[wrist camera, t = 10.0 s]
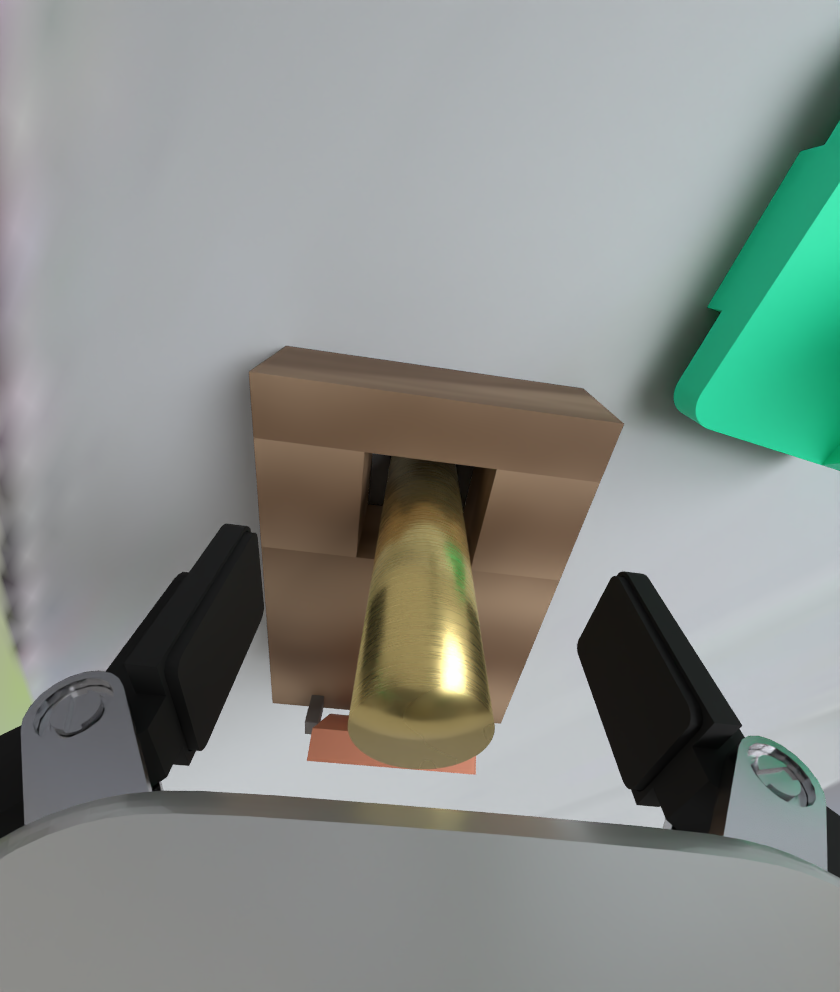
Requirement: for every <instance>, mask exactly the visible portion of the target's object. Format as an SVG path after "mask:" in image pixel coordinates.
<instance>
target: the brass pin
mask: <svg viewBox="0 0 840 992" xmlns="http://www.w3.org/2000/svg"><path fill="white" fill-rule="evenodd" d="M494 730H495V725H494V718H493V712H492V705H491V698H490V691H489V685H488V678H487V671H486V664H485V658H484V651H483V644H482V637H481V631H480V624H479V617H478V610H477V604H476V597H475V590H474V583H473V577H472V570H471V563H470V556H469V550H468V543H467V536H466V529H465V523H464V516H463V509H462V502H461V495H460V489H459V482H458V475H457V468H456V464H452V463H444V462H437V461H429V460H421V459H413V458H406V457H398V456H392V457H391V460H390V466H389V472H388V478H387V484H386V490H385V497H384V503H383V509H382V515H381V521H380V528H379V534H378V540H377V546H376V552H375V558H374V565H373V571H372V577H371V583H370V589H369V596H368V602H367V608H366V614H365V620H364V627H363V633H362V639H361V645H360V651H359V657H358V664H357V670H356V676H355V682H354V688H353V695H352V701H351V707H350V713H349V719H348V733H349V736H350V738H351V740H352V742H353V743H354V744H355V746H356V747H357V748H358V749H359V750H360V751H362V752H363V753H364V754H366V755H367V756H369V757H371V758H373V759H375V760H377V761H379V762H382V763H385V764H388V765H392V766H396V767H401V768H408V769H437V768H443V767H448V766H453V765H456V764H459V763H462V762H465V761H467V760H469V759H471V758H473V757H475V756H476V755H478V754H479V753H481V752H482V751H483V750H484V749H485V748H486V747H487V746H488V745H489V743H490V742H491V740H492V738H493V735H494Z"/></svg>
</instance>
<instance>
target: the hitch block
mask: <svg viewBox="0 0 840 992" xmlns="http://www.w3.org/2000/svg"><path fill="white" fill-rule="evenodd" d="M249 381H250V395H251V409H252V423H253V437H254V451H255V464H256V478H257V492H258V506H259V520H260V534H261V548H262V561H263V575H264V589H265V603H266V617H267V631H268V645H269V658H270V672H271V686H272V700H273V703H279V704H290V705H301V706H309V708H308V712H307V716H306V720H305V734H312V728H313V727H314V726H316V725H317V724H318V723H319V722H320V721H321V716H322V712H323V708H334V709H345V710H350V707H351V701H352V695H353V688H354V682H355V676H356V670H357V664H358V657H359V651H360V645H361V639H362V633H363V627H364V620H365V614H366V608H367V602H368V596H369V589H370V583H371V577H372V571H373V565H374V558H375V552H376V546H377V540H378V534H379V528H380V521H381V515H382V509H383V506H379V505H371V504H368V500H369V488H370V477H371V465H372V454H373V453H375V454H382V455H390V456H398V457H406V458H413V459H421V460H429V461H437V462H444V463H452V464H460V465H467V466H474V468H473V472H472V477H471V481H470V485H469V490H468V494H467V499H466V503H465V507H464V512H463V516H464V523H465V529H466V536H467V543H468V550H469V556H470V563H471V570H472V577H473V583H474V590H475V597H476V604H477V610H478V617H479V624H480V631H481V637H482V644H483V651H484V658H485V664H486V671H487V678H488V685H489V691H490V698H491V705H492V712H493V718H494V723H501V721H502V719H503V717H504V714H505V712H506V709H507V707H508V704H509V702H510V700H511V697H512V695H513V692H514V690H515V687H516V685H517V683H518V680H519V678H520V675H521V673H522V670H523V668H524V666H525V663H526V661H527V658H528V656H529V653H530V651H531V649H532V646H533V644H534V641H535V639H536V636H537V634H538V632H539V629H540V627H541V624H542V622H543V619H544V617H545V615H546V612H547V610H548V607H549V605H550V602H551V600H552V598H553V595H554V593H555V590H556V588H557V585H558V583H559V581H560V578H561V576H562V573H563V571H564V569H565V566H566V564H567V561H568V559H569V556H570V554H571V552H572V549H573V547H574V544H575V542H576V539H577V537H578V535H579V532H580V530H581V527H582V525H583V522H584V520H585V518H586V515H587V513H588V510H589V508H590V505H591V503H592V501H593V498H594V496H595V493H596V491H597V488H598V486H599V484H600V481H601V479H602V476H603V474H604V471H605V469H606V467H607V464H608V462H609V459H610V457H611V454H612V452H613V450H614V447H615V445H616V442H617V440H618V437H619V435H620V433H621V430H622V428H623V425H624V423H622V422H621V421H620V420H619V419H618V418H617V417H616V416H614V415H613V414H612V413H611V412H610V411H609V410H607V409H606V408H605V407H604V406H603V405H602V404H601V403H599V402H598V401H597V400H596V399H595V398H594V397H592V396H591V395H590V394H589V393H588V392H587V391H586V390H584V389H583V388H576V387H569V386H562V385H555V384H548V383H541V382H534V381H527V380H520V379H513V378H506V377H499V376H492V375H485V374H478V373H471V372H464V371H457V370H450V369H443V368H436V367H429V366H422V365H415V364H409V363H402V362H395V361H388V360H381V359H374V358H367V357H360V356H353V355H346V354H339V353H332V352H325V351H318V350H311V349H304V348H297V347H290V346H285V347H284V348H283V349H281V350H280V351H278V352H277V353H275V354H274V355H272V356H271V357H269V358H268V359H267V360H265V361H264V362H262V363H261V364H259V365H258V366H256V367H255V368H253V369H252V370H251V371H249Z"/></svg>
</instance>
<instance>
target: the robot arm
mask: <svg viewBox="0 0 840 992" xmlns="http://www.w3.org/2000/svg"><path fill="white" fill-rule="evenodd" d="M263 611H264V602H263V591H262V580H261V569H260V559H259V548H258V537H257V534H256V533H251V530H250V528H249V527H248V526H241V525H233V524H224V525H223V526H222V527H221V528H220V530H219V531H218V533H217V534H216V535H215V537H214V538H213V540H212V541H211V542H210V544H209V545H208V547H207V548H206V549H205V551H204V552H203V554H202V555H201V556H200V558H199V559H198V561H197V562H196V563H195V565H194V566H193V568H192V569H191V570H190V572H189V573H188V572H182V573H180V574H178V576H177V577H176V578H175V579H174V580H173V581H172V583H171V584H170V585H169V587H168V588H167V589H166V591H165V592H164V593H163V595H162V596H161V597H160V599H159V600H158V602H157V603H156V604H155V606H154V607H153V608H152V610H151V611H150V612H149V614H148V615H147V616H146V618H145V619H144V620H143V622H142V623H141V624H140V626H139V627H138V628H137V630H136V631H135V633H134V634H133V635H132V637H131V638H130V639H129V641H128V642H127V643H126V645H125V646H124V647H123V649H122V650H121V651H120V653H119V654H118V655H117V657H116V658H115V659H114V661H113V662H112V664H111V665H110V666H109V668H108V669H107V670H106V672H104V671H90V672H84V673H80V674H77V675H74V676H70V677H68V678H66V679H64V680H62V681H60V682H58V683H56V684H55V685H53V686H52V687H51V688H49V689H48V690H46V691H45V692H44V693H42V694H41V695H40V696H39V697H38V698H37V699H36V700H35V702H34V703H33V704H32V705H31V706H30V707H29V709H28V711H27V712H26V714H25V716H24V718H23V721H22V725H21V726H19V727H17V728H15V729H13V730H11V731H9V732H7V733H5V734H3V735H1V736H0V992H840V816H839V815H838V814H836V813H835V812H834V811H832V810H831V809H829V808H828V807H827V806H826V800H825V796H824V792H823V790H822V788H821V786H820V784H819V782H818V780H817V779H816V777H815V776H814V775H813V774H812V772H811V771H810V770H809V768H808V767H807V766H806V765H805V764H804V763H803V762H802V761H801V760H800V759H799V758H798V757H797V756H796V755H794V754H793V753H791V752H790V751H789V750H787V749H786V748H785V747H783V746H782V745H780V744H778V743H776V742H774V741H772V740H770V739H767V738H764V737H760V736H748V737H746V738H745V737H744V736H743V734H742V732H741V731H740V729H739V728H740V727H742V724H741V723H740V721H739V720H738V718H737V717H736V715H735V713H734V712H733V710H732V709H731V707H730V706H729V704H728V702H727V701H726V699H725V698H724V696H723V695H722V693H721V691H720V690H719V688H718V687H717V685H716V684H715V682H714V680H713V679H712V677H711V676H710V674H709V673H708V671H707V669H706V668H705V666H704V665H703V663H702V662H701V660H700V658H699V657H698V655H697V654H696V652H695V651H694V649H693V647H692V646H691V644H690V643H689V641H688V640H687V638H686V636H685V635H684V633H683V632H682V630H681V629H680V627H679V625H678V624H677V622H676V621H675V619H674V618H673V616H672V614H671V613H670V611H669V610H668V608H667V607H666V605H665V603H664V602H663V600H662V599H661V597H660V596H659V594H658V592H657V591H656V589H655V588H654V586H653V585H652V583H651V581H650V580H649V578H648V577H647V576H646V575H644V574H640V573H631V572H620V573H618V575H617V576H613V577H612V578H611V579H610V581H609V583H608V585H607V587H606V589H605V591H604V593H603V594H602V596H601V598H600V600H599V602H598V604H597V606H596V608H595V610H594V612H593V613H592V615H591V617H590V619H589V621H588V623H587V625H586V627H585V629H584V631H583V633H582V634H581V636H580V638H579V640H578V644H577V651H578V655H579V658H580V661H581V664H582V667H583V670H584V672H585V675H586V678H587V681H588V684H589V687H590V689H591V692H592V695H593V698H594V701H595V704H596V706H597V709H598V712H599V715H600V718H601V721H602V723H603V726H604V729H605V732H606V735H607V738H608V740H609V743H610V746H611V749H612V752H613V755H614V757H615V760H616V763H617V766H618V769H619V772H620V774H621V777H622V780H623V782H624V784H625V786H626V787H627V788H628V789H631V790H632V793H633V796H634V799H635V801H636V804H637V805H643V806H655V807H660V806H661V808H662V810H663V813H664V815H665V822H664V825H663V829H661V828H652V827H643V826H632V825H621V824H610V823H599V822H588V821H577V820H565V819H554V818H543V817H532V816H520V815H509V814H497V813H485V812H473V811H462V810H450V809H438V808H426V807H414V806H402V805H390V804H377V803H364V802H352V801H339V800H327V799H314V798H301V797H289V796H275V795H258V794H242V793H225V792H209V791H163V787H162V783H161V781H162V780H163V779H165V778H166V777H167V776H168V774H169V772H170V769H171V767H172V765H173V764H174V765H186V766H189V765H190V763H191V760H192V758H193V756H194V754H195V752H196V751H202V750H203V749H204V748H205V746H206V745H207V743H208V740H209V738H210V736H211V734H212V731H213V729H214V727H215V724H216V722H217V720H218V718H219V715H220V713H221V711H222V708H223V706H224V704H225V702H226V699H227V697H228V695H229V692H230V690H231V688H232V686H233V683H234V681H235V679H236V676H237V674H238V672H239V670H240V667H241V665H242V663H243V660H244V658H245V656H246V654H247V651H248V649H249V647H250V644H251V642H252V640H253V638H254V635H255V633H256V631H257V628H258V626H259V624H260V622H261V619H262V616H263Z"/></svg>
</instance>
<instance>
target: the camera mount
mask: <svg viewBox="0 0 840 992" xmlns="http://www.w3.org/2000/svg"><path fill="white" fill-rule="evenodd" d="M707 308H710V309H713V310H716V311H718V312H721V313H720V315H719V317H718V318H717V320H716V321H715V323H714V325H713V326H712V328H711V329H710V331H709V333H708V334H707V336H706V338H705V339H704V341H703V342H702V344H701V346H700V347H699V349H698V351H697V352H696V354H695V355H694V357H693V359H692V360H691V362H690V363H689V365H688V367H687V368H686V370H685V372H684V373H683V375H682V376H681V378H680V380H679V381H678V383H677V385H676V387H675V391H674V404H675V406H676V408H677V409H678V410H679V411H680V412H681V413H682V414H684V415H686V416H687V417H689V418H690V419H692V420H694V421H695V422H697V423H698V424H700V425H702V426H703V427H705V428H707V429H710V430H713V431H716V432H719V433H722V434H725V435H728V436H732V437H735V438H738V439H741V440H744V441H747V442H751V443H754V444H757V445H760V446H763V447H766V448H770V449H773V450H776V451H779V452H782V453H785V454H788V455H792V456H795V457H798V458H801V459H804V460H807V461H811V462H814V463H817V464H820V465H823V466H826V467H830V468H833V469H836V470H839V471H840V121H839V122H838V124H837V126H836V127H835V129H834V130H833V132H832V134H831V135H830V137H829V138H828V140H827V142H826V143H825V145H822V146H818V147H814V148H811V149H807V150H803V151H800V153H799V155H798V156H797V158H796V160H795V161H794V163H793V165H792V166H791V168H790V170H789V171H788V173H787V175H786V176H785V178H784V180H783V181H782V183H781V185H780V186H779V188H778V190H777V191H776V193H775V195H774V196H773V198H772V200H771V201H770V203H769V205H768V206H767V208H766V210H765V211H764V213H763V215H762V216H761V218H760V220H759V221H758V223H757V225H756V226H755V228H754V230H753V231H752V233H751V235H750V236H749V238H748V240H747V241H746V243H745V245H744V246H743V248H742V250H741V251H740V253H739V255H738V256H737V258H736V260H735V261H734V263H733V265H732V266H731V268H730V270H729V271H728V273H727V275H726V276H725V278H724V280H723V281H722V283H721V285H720V286H719V288H718V290H717V291H716V293H715V295H714V296H713V298H712V300H711V301H710V303H709V305H708V307H707Z"/></svg>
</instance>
